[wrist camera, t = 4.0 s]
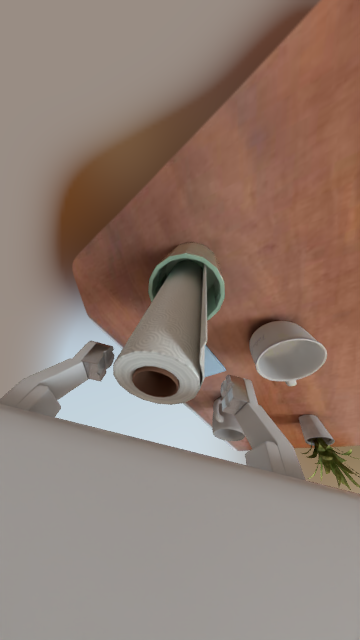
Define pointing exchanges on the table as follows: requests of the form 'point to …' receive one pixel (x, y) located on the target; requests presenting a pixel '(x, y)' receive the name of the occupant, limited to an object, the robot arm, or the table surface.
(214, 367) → the mat
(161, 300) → the paper towel roll
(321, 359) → the teacup
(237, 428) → the mug
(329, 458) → the house plant
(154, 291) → the sage green pencil cup
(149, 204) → the table surface
